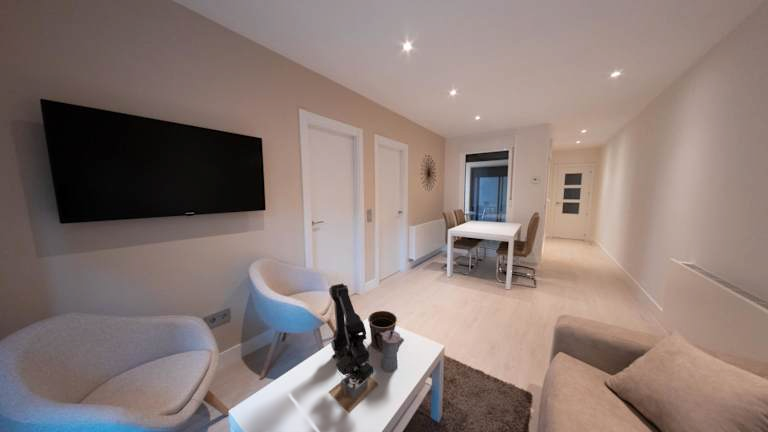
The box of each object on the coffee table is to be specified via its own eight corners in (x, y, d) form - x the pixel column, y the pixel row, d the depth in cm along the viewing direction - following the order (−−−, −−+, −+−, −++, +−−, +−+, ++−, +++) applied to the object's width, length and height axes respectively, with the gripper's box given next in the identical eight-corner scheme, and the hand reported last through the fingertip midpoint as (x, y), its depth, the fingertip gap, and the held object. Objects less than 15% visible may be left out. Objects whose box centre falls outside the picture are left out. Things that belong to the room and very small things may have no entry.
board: (328, 393, 102) (328, 391, 102) (358, 368, 116) (358, 367, 116) (349, 415, 93) (349, 413, 93) (379, 385, 107) (379, 384, 106)
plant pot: (370, 333, 142) (371, 309, 140) (397, 336, 140) (397, 311, 137) (365, 352, 126) (365, 326, 124) (394, 356, 124) (395, 329, 122)
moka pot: (402, 377, 111) (403, 339, 108) (370, 371, 114) (371, 334, 111) (404, 362, 120) (405, 327, 117) (375, 357, 123) (375, 322, 120)
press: (338, 390, 103) (338, 382, 102) (355, 376, 110) (355, 369, 109) (351, 402, 98) (351, 394, 97) (367, 387, 105) (367, 379, 104)
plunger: (344, 387, 104) (344, 373, 103) (354, 378, 108) (354, 365, 107) (353, 395, 100) (353, 381, 99) (363, 386, 104) (363, 372, 103)
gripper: (325, 346, 101) (326, 378, 104) (354, 370, 89) (354, 405, 91) (345, 334, 109) (346, 363, 112) (374, 354, 97) (374, 386, 100)
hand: (354, 378), depth 103 cm, fingers closed on plunger, 3 cm apart
